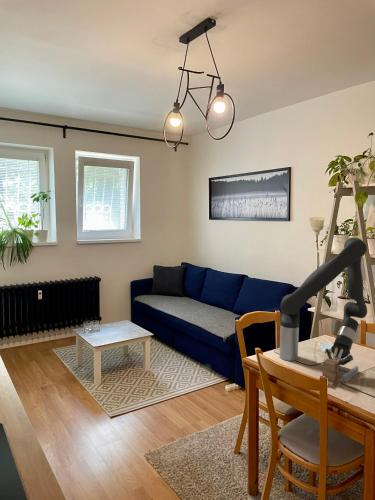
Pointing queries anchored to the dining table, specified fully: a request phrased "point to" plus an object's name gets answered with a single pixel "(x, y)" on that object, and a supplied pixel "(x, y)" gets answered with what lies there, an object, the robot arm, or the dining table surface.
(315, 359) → the dining table surface
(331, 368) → the walnut block
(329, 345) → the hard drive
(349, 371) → the channel
